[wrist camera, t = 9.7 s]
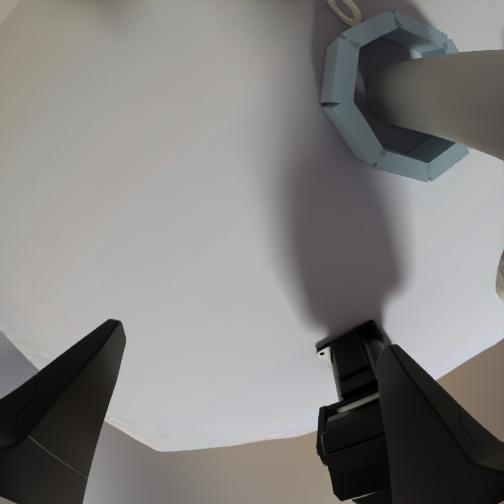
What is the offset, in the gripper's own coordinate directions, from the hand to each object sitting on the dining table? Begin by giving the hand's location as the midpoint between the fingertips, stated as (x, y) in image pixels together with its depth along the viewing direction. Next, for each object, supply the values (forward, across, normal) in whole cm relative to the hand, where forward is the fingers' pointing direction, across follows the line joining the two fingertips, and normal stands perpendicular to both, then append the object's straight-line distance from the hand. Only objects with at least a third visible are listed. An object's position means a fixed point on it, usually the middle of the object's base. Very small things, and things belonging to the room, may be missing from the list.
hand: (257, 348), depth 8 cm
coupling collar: (+12, -8, -10) cm, 17 cm away
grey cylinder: (+12, -8, -10) cm, 17 cm away
